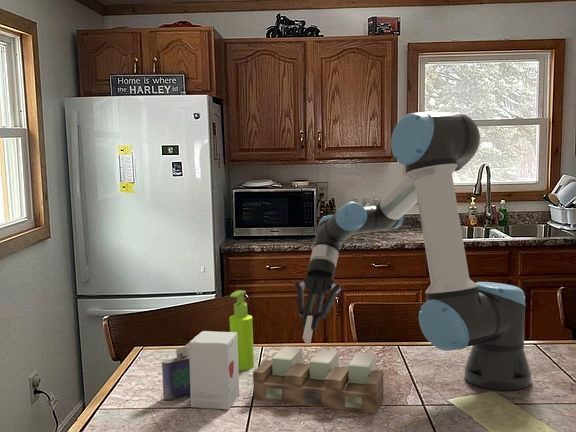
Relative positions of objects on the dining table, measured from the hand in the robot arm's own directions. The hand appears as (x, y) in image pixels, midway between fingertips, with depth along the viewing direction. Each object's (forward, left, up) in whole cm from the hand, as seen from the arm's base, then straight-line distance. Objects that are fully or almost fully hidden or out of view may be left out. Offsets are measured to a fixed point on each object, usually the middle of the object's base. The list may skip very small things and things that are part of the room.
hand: (306, 340), depth 166 cm
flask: (+22, +27, -7) cm, 36 cm away
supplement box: (+13, +28, -7) cm, 32 cm away
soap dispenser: (+16, +6, -7) cm, 18 cm away
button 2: (-18, +16, -2) cm, 24 cm away
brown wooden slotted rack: (-9, +21, -6) cm, 24 cm away
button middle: (-9, +16, -2) cm, 18 cm away
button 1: (0, +16, -2) cm, 16 cm away
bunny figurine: (+29, +7, -7) cm, 31 cm away
